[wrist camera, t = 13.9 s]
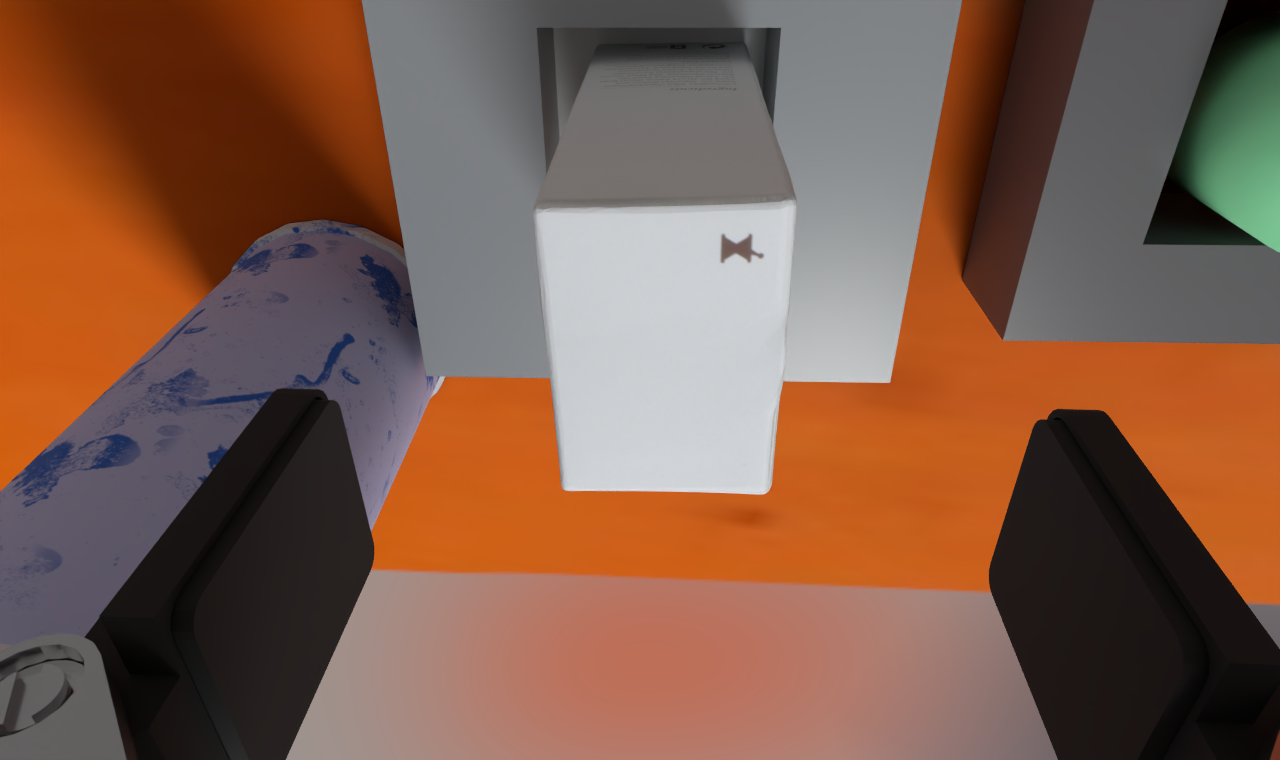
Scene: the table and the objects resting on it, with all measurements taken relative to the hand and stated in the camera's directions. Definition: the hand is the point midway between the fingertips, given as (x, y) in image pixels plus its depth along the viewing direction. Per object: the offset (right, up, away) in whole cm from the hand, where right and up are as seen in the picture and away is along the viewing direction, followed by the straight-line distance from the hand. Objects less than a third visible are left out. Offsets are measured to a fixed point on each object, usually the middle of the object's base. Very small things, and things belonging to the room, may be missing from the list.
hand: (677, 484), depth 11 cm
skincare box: (0, +8, +13) cm, 15 cm away
